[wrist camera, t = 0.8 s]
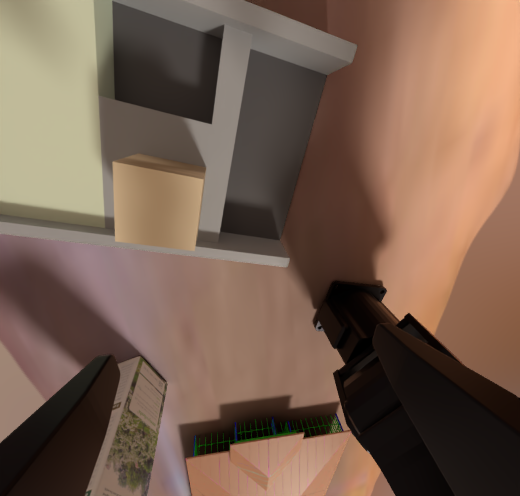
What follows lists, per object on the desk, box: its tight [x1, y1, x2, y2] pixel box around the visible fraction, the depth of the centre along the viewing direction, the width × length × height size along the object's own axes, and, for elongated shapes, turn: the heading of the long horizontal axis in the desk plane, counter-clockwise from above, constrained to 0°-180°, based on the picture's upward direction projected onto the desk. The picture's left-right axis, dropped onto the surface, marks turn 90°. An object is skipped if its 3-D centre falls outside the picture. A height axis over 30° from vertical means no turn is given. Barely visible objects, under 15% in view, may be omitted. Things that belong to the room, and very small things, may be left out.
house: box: [186, 414, 351, 496], centre depth 37 cm, size 23×33×8 cm
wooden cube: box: [113, 153, 206, 251], centre depth 14 cm, size 4×4×4 cm
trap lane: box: [0, 0, 358, 267], centre depth 15 cm, size 20×14×4 cm
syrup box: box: [85, 356, 167, 496], centre depth 19 cm, size 6×6×14 cm
